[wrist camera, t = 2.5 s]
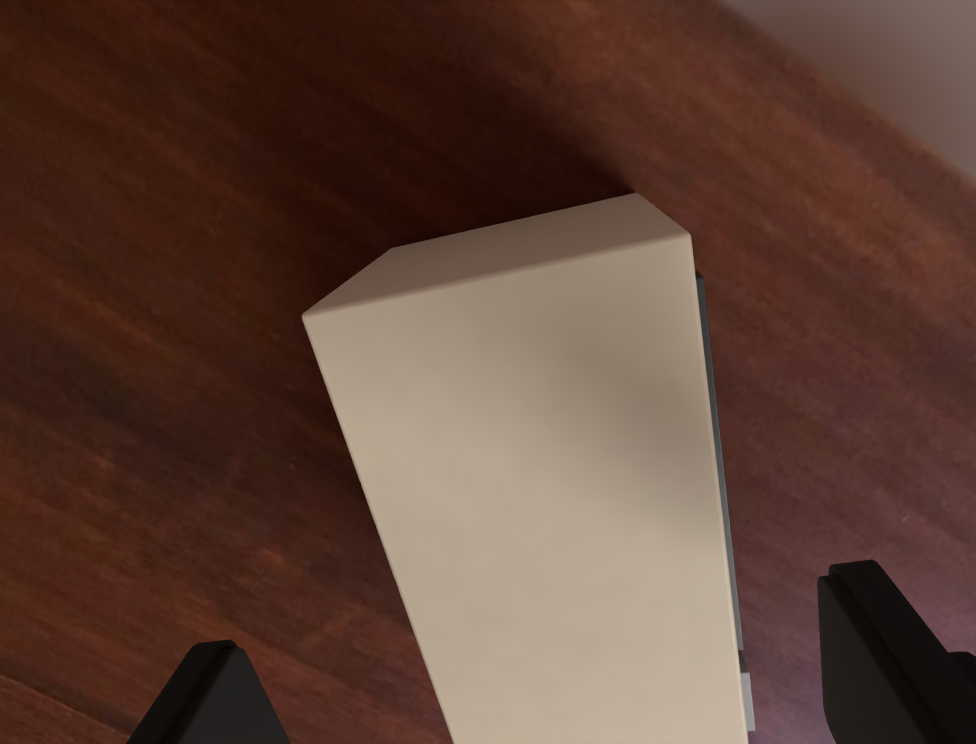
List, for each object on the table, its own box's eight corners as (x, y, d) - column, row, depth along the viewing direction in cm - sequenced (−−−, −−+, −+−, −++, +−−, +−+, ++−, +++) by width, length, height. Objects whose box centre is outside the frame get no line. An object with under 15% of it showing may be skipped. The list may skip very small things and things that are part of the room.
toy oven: (651, 188, 14) (712, 226, 9) (703, 583, 18) (767, 777, 13) (389, 248, 16) (297, 314, 10) (493, 606, 20) (469, 793, 14)
